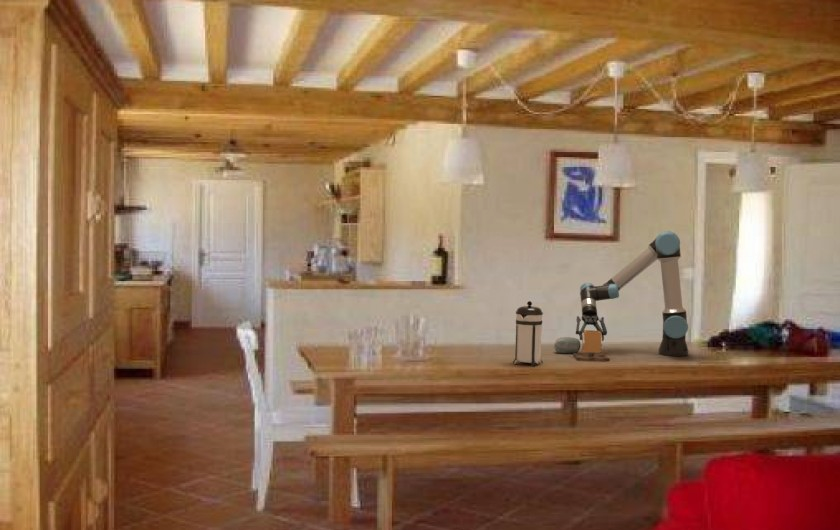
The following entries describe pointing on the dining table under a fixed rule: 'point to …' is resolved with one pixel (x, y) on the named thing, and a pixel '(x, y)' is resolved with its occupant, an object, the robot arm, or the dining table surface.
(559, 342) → the grey green rounded lump
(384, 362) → the dining table surface
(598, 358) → the shaft stand
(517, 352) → the coffee press
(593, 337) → the spacer sleeve
